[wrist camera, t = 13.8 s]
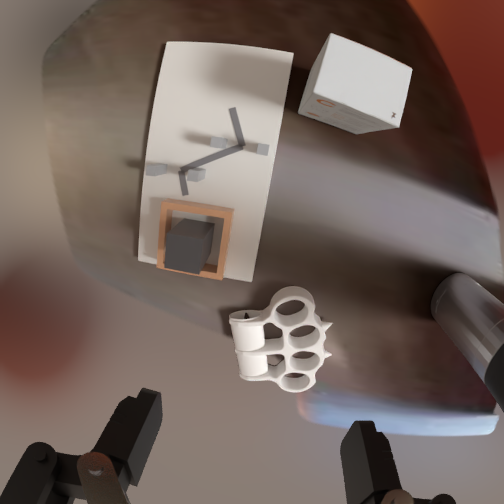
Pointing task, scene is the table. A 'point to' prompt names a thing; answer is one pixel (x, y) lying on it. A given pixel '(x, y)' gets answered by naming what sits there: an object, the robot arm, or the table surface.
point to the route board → (214, 143)
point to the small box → (355, 87)
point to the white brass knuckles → (280, 342)
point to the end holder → (202, 209)
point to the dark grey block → (189, 245)
